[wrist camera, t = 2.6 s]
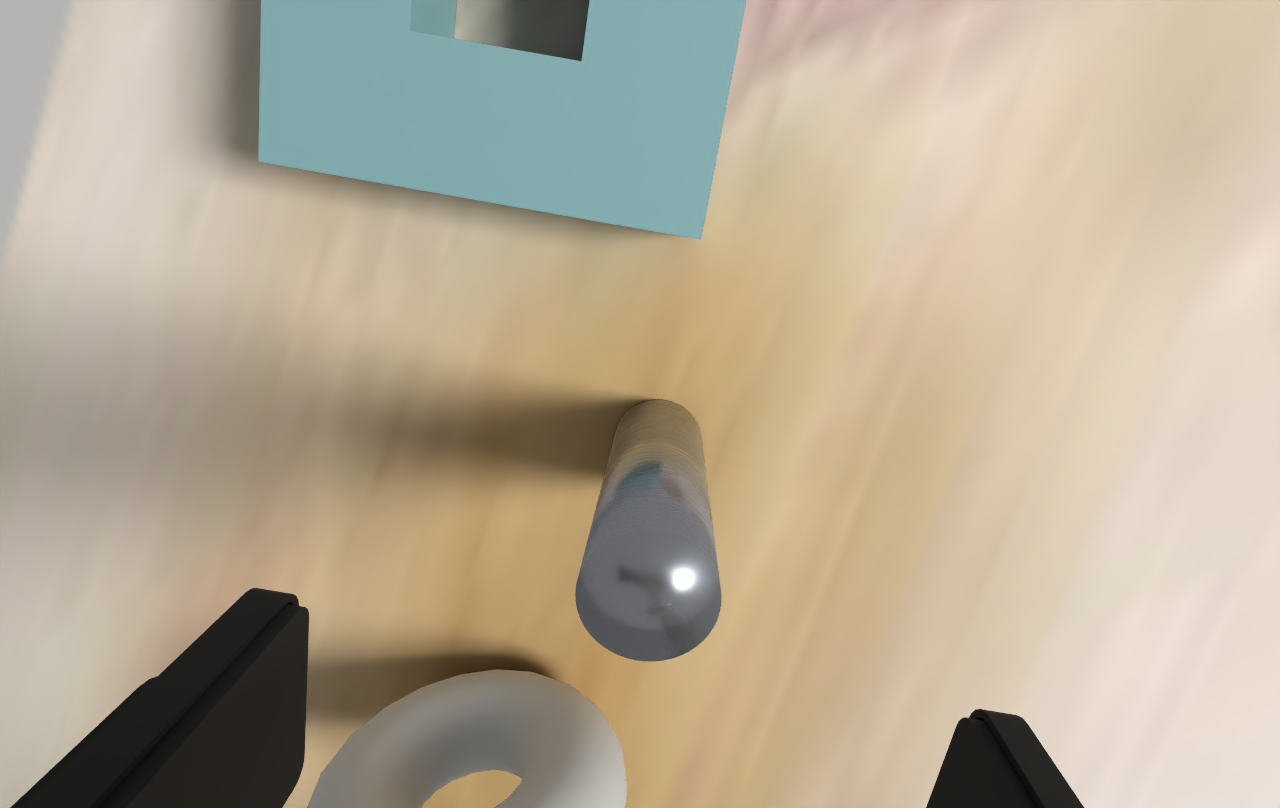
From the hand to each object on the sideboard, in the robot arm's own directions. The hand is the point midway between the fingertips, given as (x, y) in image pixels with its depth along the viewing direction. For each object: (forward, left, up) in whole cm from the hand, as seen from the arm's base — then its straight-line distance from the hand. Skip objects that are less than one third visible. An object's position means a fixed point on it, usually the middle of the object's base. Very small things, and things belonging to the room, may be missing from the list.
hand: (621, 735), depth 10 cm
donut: (+4, +12, -15) cm, 19 cm away
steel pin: (0, +1, -15) cm, 15 cm away
